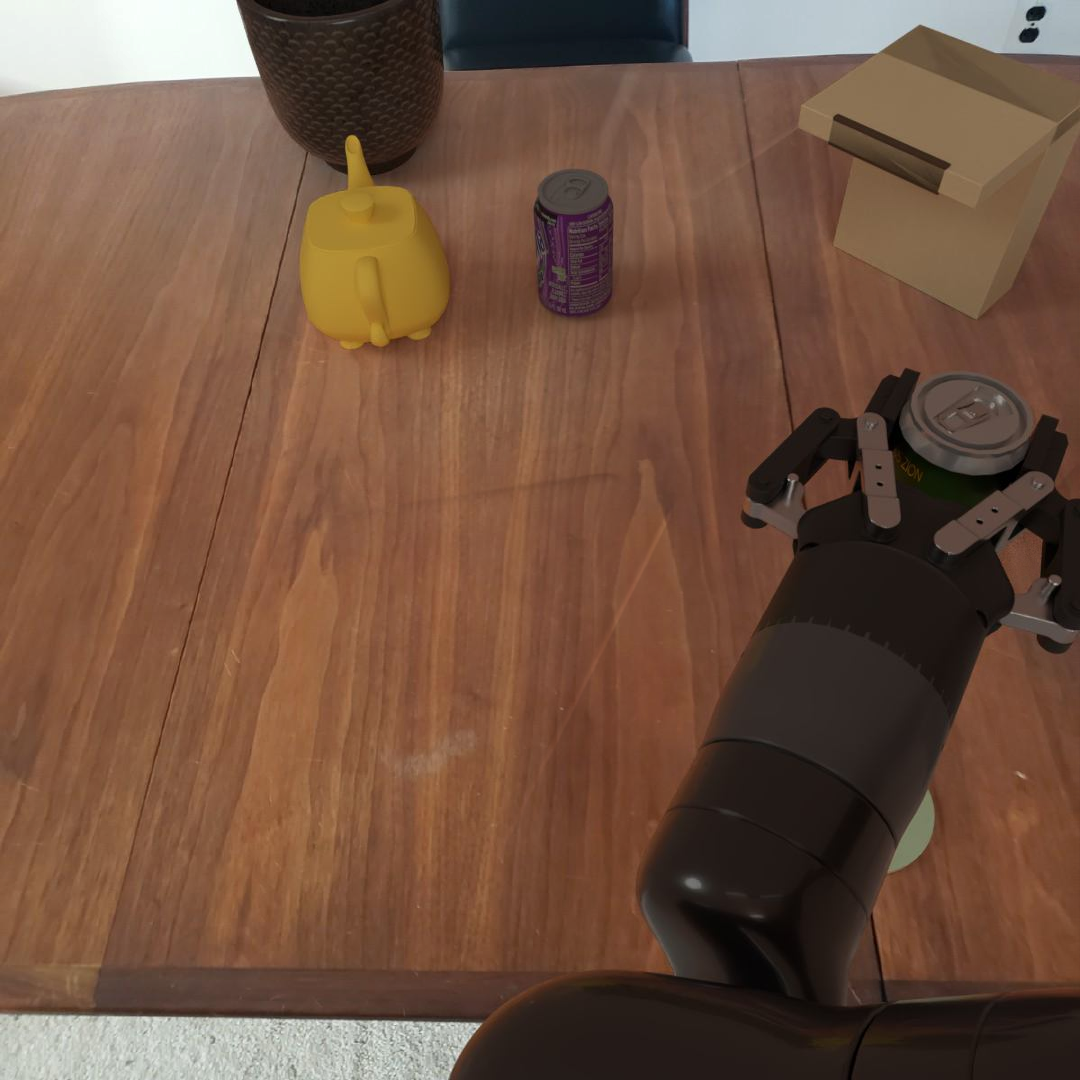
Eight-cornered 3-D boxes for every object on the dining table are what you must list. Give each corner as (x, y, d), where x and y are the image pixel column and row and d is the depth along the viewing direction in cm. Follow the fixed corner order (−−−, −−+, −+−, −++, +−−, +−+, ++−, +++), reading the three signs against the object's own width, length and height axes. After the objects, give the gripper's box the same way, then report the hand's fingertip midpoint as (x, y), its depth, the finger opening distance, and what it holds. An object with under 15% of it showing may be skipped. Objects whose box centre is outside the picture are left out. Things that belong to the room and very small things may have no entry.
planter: (423, 212, 103) (393, 31, 87) (254, 190, 106) (196, 12, 91) (478, 110, 114) (460, -67, 98) (323, 93, 117) (282, -80, 102)
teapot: (314, 386, 88) (277, 274, 78) (310, 249, 100) (277, 135, 90) (463, 364, 89) (446, 250, 79) (442, 230, 101) (424, 116, 90)
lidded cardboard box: (911, 380, 85) (983, 183, 69) (766, 297, 93) (801, 102, 76) (1033, 268, 93) (1124, 68, 77) (890, 199, 100) (946, 3, 84)
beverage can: (554, 267, 97) (549, 159, 87) (621, 282, 95) (624, 173, 85) (527, 313, 93) (519, 205, 83) (597, 329, 91) (597, 221, 81)
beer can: (891, 637, 48) (968, 477, 38) (822, 560, 51) (878, 394, 41) (974, 592, 49) (1068, 427, 40) (902, 520, 52) (974, 351, 43)
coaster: (946, 773, 65) (948, 770, 64) (913, 899, 60) (916, 896, 60) (813, 721, 67) (815, 718, 67) (772, 838, 63) (774, 835, 62)
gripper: (1092, 746, 29) (1189, 400, 38) (666, 558, 34) (837, 289, 43) (1006, 835, 35) (1107, 519, 44) (653, 665, 40) (806, 410, 49)
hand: (973, 407), depth 43 cm, fingers closed on beer can, 5 cm apart
